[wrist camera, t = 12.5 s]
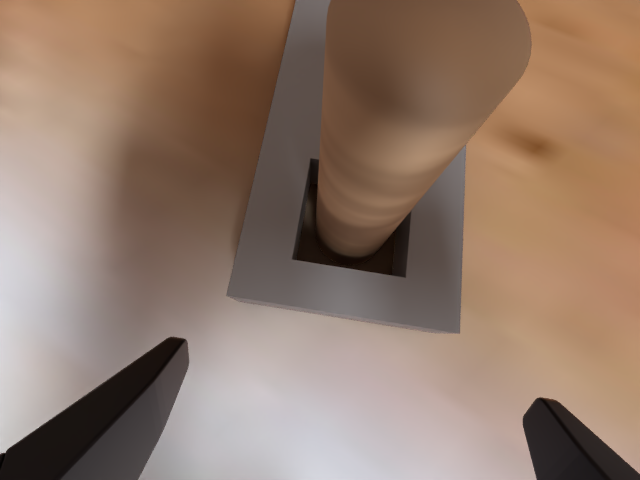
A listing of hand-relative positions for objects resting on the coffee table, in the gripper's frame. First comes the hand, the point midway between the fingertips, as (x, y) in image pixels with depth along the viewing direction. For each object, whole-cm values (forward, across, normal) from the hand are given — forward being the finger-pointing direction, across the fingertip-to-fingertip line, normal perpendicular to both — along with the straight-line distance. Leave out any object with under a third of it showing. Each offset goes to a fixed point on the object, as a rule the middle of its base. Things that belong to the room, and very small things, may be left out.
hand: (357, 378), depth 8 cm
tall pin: (+12, 0, +2) cm, 12 cm away
